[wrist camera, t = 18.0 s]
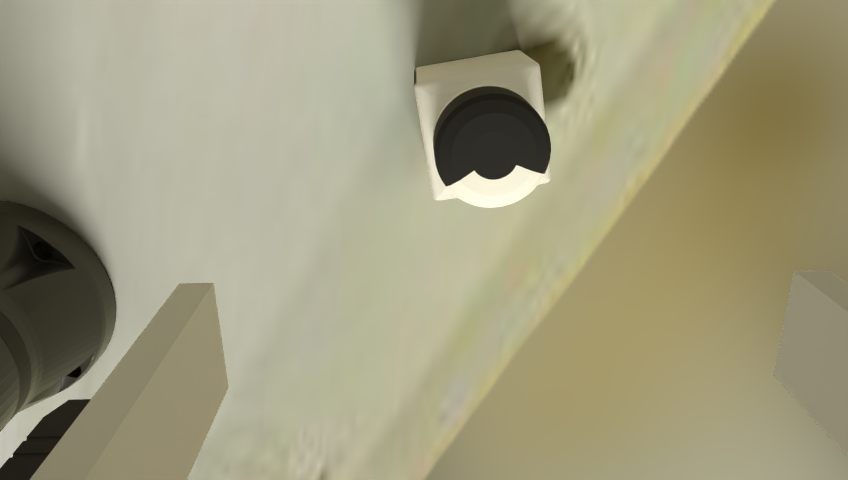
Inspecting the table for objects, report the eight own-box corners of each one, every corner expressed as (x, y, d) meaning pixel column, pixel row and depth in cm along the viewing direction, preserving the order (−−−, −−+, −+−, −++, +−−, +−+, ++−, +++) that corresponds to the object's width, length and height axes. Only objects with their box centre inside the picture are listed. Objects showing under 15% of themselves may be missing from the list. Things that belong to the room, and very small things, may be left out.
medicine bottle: (413, 67, 44) (412, 97, 33) (521, 48, 44) (557, 73, 33) (430, 170, 47) (435, 232, 36) (533, 154, 47) (570, 210, 35)
